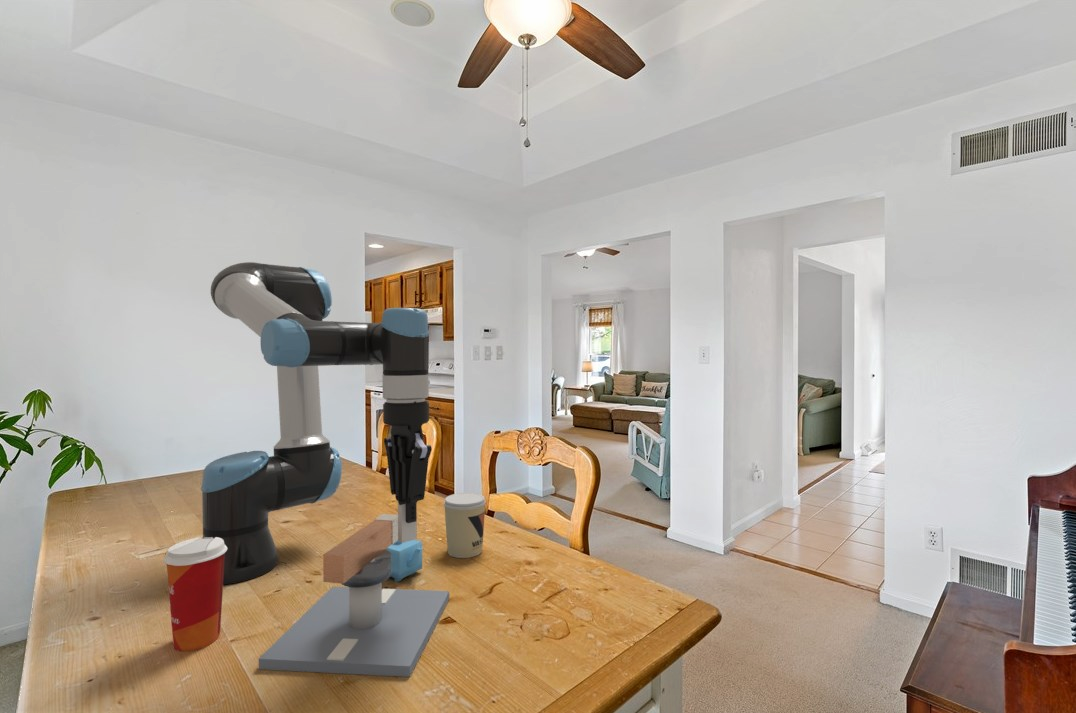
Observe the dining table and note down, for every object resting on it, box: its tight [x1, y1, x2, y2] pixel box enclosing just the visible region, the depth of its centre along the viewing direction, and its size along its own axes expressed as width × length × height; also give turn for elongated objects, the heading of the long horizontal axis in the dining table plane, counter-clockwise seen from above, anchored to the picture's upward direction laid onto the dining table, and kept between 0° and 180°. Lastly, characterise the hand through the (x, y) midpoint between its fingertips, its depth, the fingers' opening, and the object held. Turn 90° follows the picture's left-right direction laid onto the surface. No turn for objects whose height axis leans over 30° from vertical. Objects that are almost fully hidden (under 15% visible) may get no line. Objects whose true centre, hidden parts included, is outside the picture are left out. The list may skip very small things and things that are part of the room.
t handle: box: [322, 513, 398, 588], centre depth 82 cm, size 18×8×7 cm, turn 170°
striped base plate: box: [258, 582, 450, 678], centre depth 82 cm, size 22×22×8 cm
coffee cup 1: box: [163, 537, 227, 652], centre depth 79 cm, size 8×8×15 cm
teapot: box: [385, 539, 424, 582], centre depth 102 cm, size 12×6×8 cm, turn 58°
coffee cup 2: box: [443, 492, 487, 559], centre depth 115 cm, size 9×9×12 cm
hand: (407, 539), depth 86 cm, fingers closed
